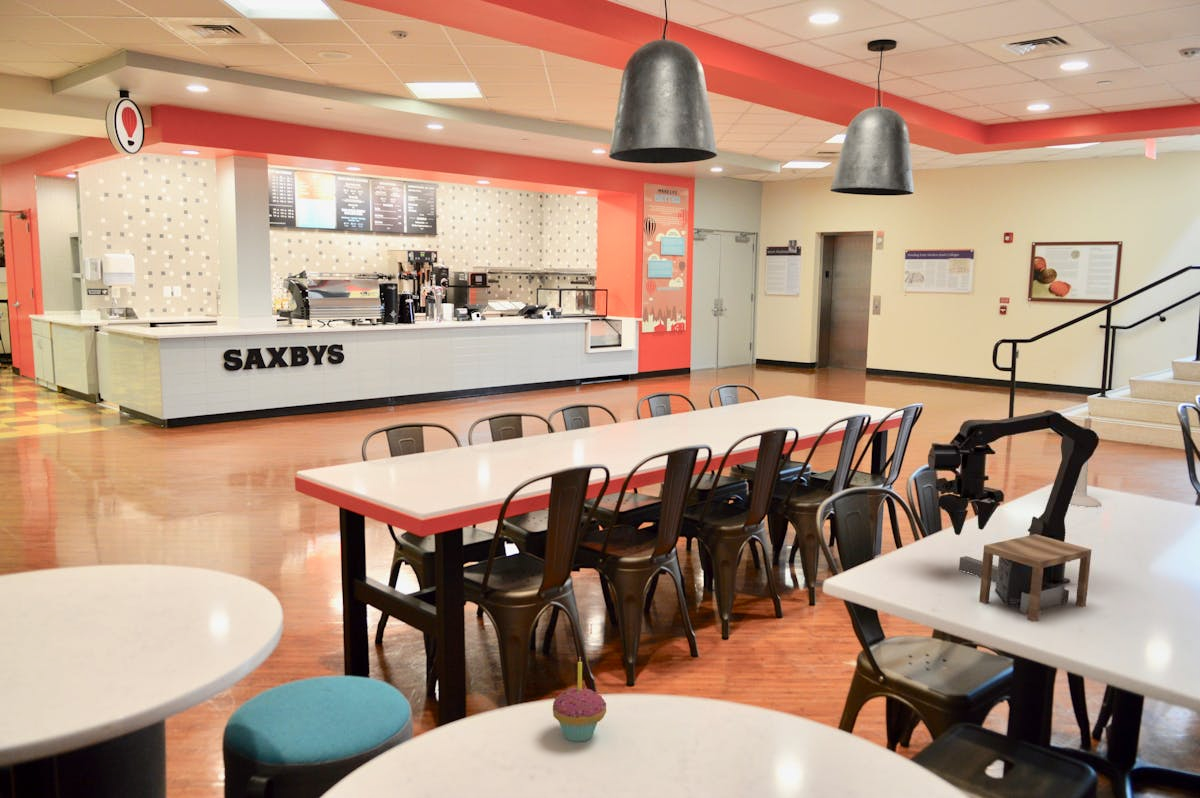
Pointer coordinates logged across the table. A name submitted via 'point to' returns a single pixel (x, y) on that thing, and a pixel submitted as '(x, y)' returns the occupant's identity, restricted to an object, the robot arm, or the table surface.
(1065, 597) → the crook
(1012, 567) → the small box
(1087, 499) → the candlestick
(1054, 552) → the small wooden table
